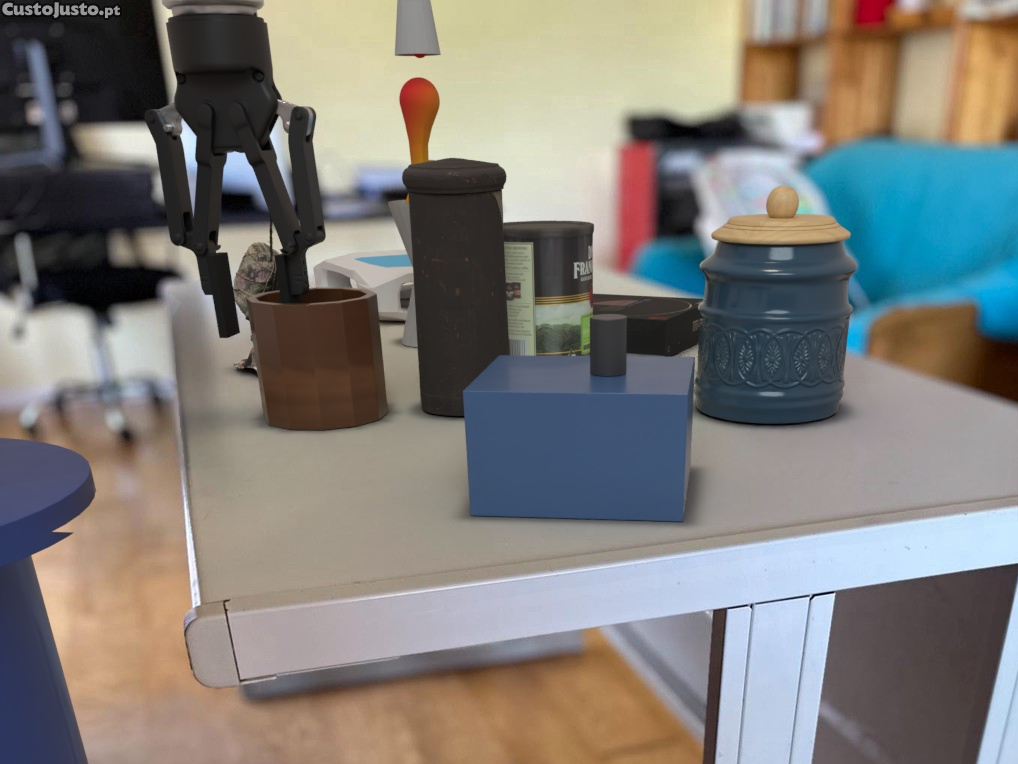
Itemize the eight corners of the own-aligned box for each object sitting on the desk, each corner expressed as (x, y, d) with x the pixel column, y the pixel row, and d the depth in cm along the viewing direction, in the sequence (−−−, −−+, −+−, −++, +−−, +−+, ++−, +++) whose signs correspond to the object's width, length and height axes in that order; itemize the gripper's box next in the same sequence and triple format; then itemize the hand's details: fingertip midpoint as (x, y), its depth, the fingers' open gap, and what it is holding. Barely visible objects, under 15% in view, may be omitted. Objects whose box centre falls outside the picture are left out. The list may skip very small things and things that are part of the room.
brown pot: (247, 429, 93) (227, 304, 88) (290, 401, 103) (274, 287, 98) (366, 431, 92) (353, 304, 87) (399, 403, 101) (389, 287, 96)
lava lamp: (456, 349, 125) (432, -24, 107) (386, 345, 127) (352, -18, 110) (487, 336, 132) (470, -15, 114) (421, 333, 135) (394, -10, 117)
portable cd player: (585, 327, 137) (584, 293, 135) (714, 335, 130) (716, 299, 128) (524, 349, 124) (523, 312, 122) (664, 359, 117) (665, 320, 115)
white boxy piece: (448, 290, 169) (446, 246, 166) (522, 313, 147) (521, 263, 144) (315, 301, 161) (310, 255, 158) (372, 327, 139) (367, 274, 136)
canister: (664, 412, 96) (671, 188, 87) (742, 387, 104) (756, 180, 96) (795, 434, 89) (817, 191, 80) (867, 405, 97) (894, 183, 88)
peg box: (470, 515, 72) (458, 331, 66) (503, 466, 82) (496, 302, 76) (683, 521, 70) (690, 332, 64) (690, 470, 80) (697, 303, 74)
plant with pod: (305, 356, 123) (279, 154, 113) (318, 375, 113) (290, 156, 103) (231, 362, 120) (198, 156, 110) (238, 381, 111) (202, 158, 101)
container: (532, 401, 101) (525, 155, 91) (482, 422, 94) (468, 159, 84) (453, 393, 104) (438, 156, 94) (399, 413, 97) (377, 160, 87)
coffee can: (601, 369, 113) (601, 219, 106) (585, 390, 104) (584, 228, 97) (505, 367, 115) (499, 219, 108) (481, 388, 106) (473, 228, 99)
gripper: (346, 14, 85) (376, 329, 97) (126, 21, 87) (182, 327, 99) (314, 5, 79) (351, 344, 90) (77, 13, 81) (143, 342, 93)
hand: (262, 335), depth 95 cm, fingers open, 5 cm apart
